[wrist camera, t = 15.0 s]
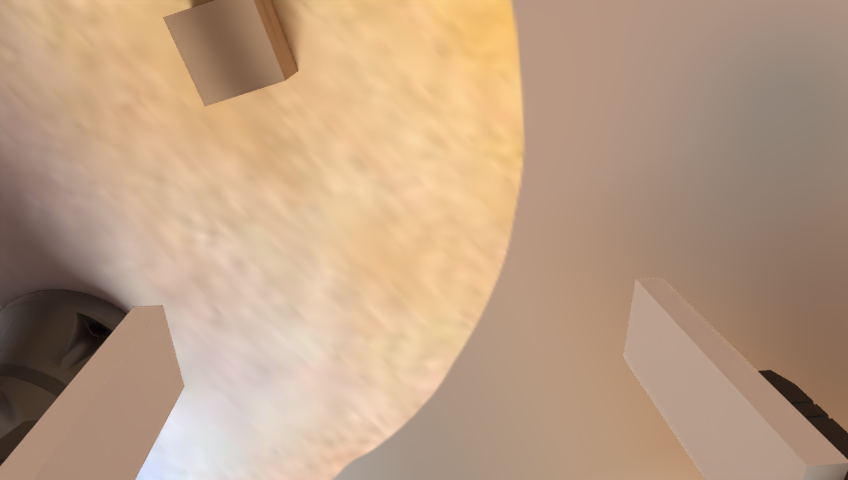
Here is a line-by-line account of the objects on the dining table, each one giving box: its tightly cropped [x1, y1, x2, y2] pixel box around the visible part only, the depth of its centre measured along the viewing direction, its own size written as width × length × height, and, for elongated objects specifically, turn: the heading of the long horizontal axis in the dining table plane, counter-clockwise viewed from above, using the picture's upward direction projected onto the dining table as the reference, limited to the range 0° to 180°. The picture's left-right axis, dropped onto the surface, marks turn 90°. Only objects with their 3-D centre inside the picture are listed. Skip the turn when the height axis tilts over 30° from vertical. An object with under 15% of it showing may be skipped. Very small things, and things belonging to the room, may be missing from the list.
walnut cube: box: [163, 0, 298, 106], centre depth 38 cm, size 6×6×6 cm
